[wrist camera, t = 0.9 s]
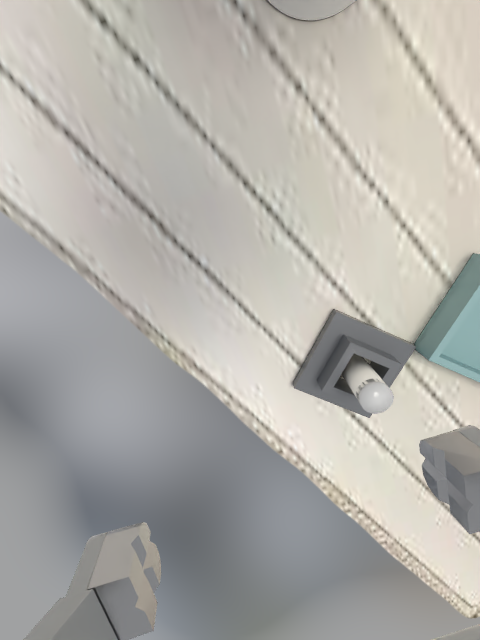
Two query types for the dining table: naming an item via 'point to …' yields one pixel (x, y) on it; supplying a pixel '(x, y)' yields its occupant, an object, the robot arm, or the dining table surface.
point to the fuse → (367, 385)
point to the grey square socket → (335, 353)
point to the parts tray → (456, 326)
